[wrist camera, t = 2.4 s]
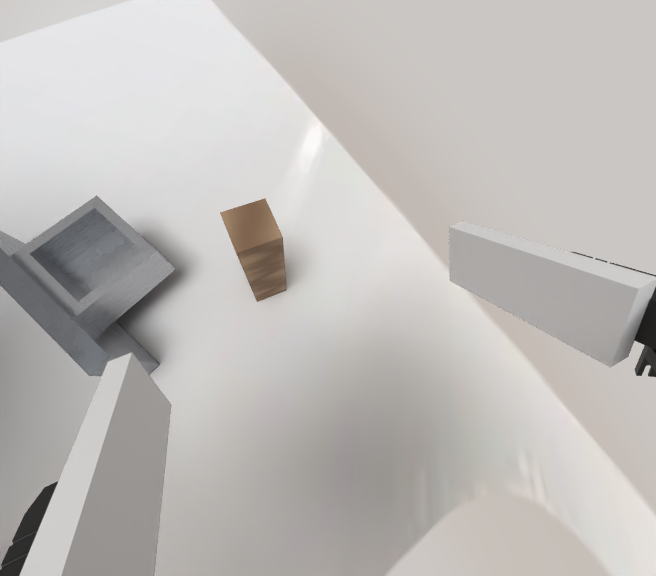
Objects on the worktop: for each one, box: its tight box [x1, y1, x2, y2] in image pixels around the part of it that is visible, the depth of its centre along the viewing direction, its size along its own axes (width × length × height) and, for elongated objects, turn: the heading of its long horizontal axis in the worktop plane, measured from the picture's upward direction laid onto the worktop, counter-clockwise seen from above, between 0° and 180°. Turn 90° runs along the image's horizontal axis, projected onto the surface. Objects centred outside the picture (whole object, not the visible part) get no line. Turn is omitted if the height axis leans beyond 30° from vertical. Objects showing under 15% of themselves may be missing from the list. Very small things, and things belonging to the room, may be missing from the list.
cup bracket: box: [0, 196, 175, 376], centre depth 32 cm, size 20×11×10 cm, turn 50°
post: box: [220, 199, 286, 302], centre depth 32 cm, size 4×4×15 cm
